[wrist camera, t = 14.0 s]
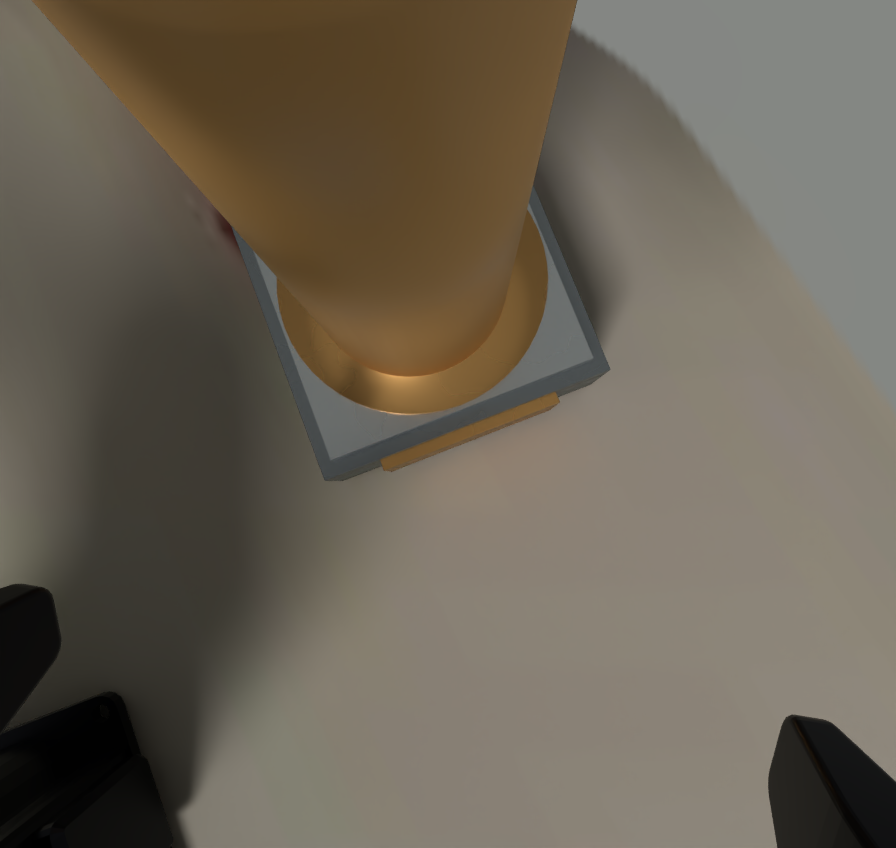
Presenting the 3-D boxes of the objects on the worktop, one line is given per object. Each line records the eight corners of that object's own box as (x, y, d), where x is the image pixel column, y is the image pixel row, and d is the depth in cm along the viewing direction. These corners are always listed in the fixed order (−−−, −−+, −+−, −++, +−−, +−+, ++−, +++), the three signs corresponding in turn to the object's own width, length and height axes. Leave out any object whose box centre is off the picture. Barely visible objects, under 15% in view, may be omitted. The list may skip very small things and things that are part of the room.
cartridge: (352, 405, 16) (-14, 136, 4) (286, 228, 17) (-239, -545, 4) (536, 334, 16) (787, -162, 4) (465, 159, 17) (478, -800, 4)
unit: (346, 490, 19) (324, 491, 16) (253, 240, 20) (214, 194, 17) (594, 393, 19) (620, 376, 16) (493, 148, 20) (499, 86, 17)
